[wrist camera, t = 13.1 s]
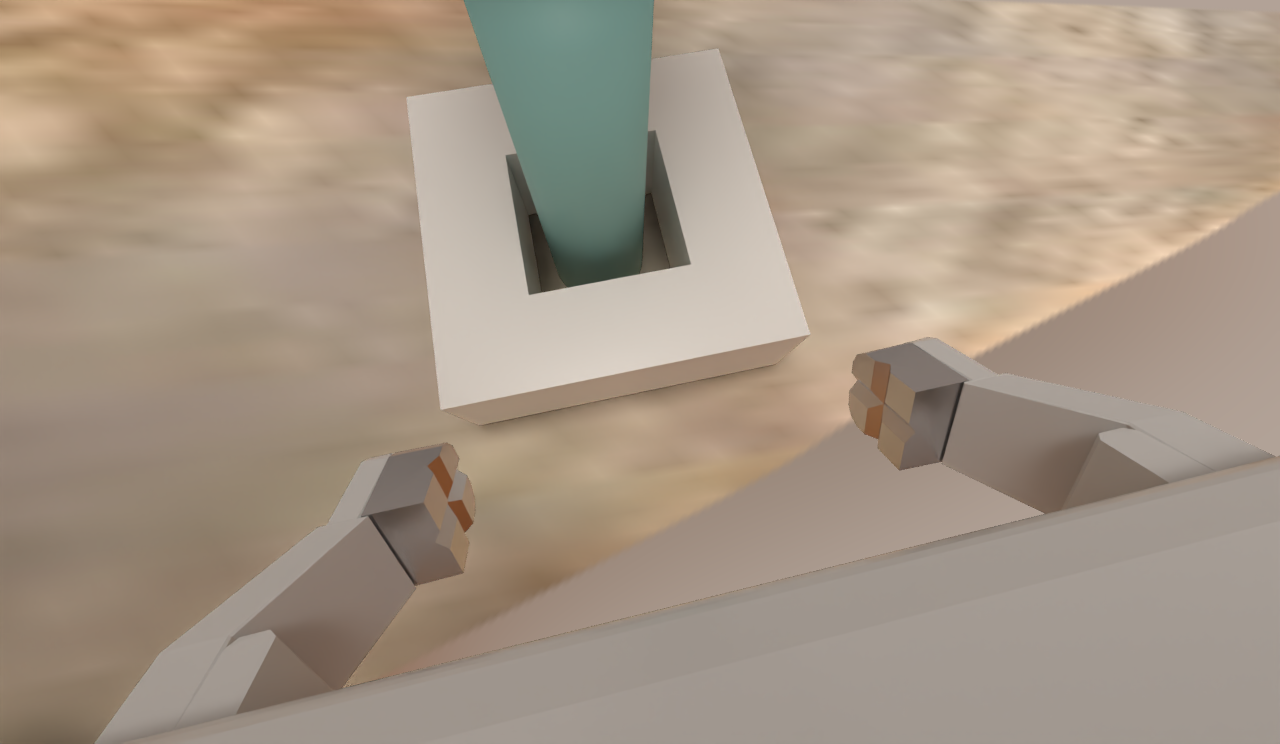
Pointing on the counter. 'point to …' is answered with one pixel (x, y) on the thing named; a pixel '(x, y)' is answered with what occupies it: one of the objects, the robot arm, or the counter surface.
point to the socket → (608, 310)
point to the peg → (576, 121)
